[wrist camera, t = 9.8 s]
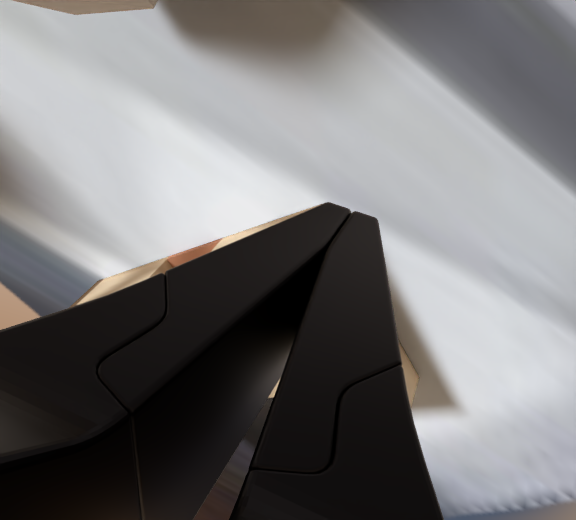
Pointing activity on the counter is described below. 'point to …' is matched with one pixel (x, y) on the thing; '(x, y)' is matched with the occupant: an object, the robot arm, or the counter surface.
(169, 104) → the counter surface
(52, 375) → the robot arm
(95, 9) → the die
